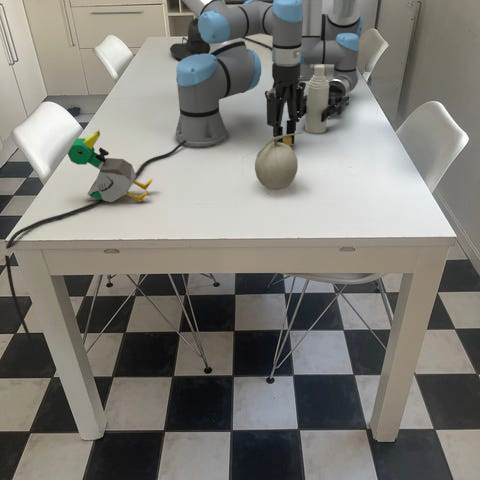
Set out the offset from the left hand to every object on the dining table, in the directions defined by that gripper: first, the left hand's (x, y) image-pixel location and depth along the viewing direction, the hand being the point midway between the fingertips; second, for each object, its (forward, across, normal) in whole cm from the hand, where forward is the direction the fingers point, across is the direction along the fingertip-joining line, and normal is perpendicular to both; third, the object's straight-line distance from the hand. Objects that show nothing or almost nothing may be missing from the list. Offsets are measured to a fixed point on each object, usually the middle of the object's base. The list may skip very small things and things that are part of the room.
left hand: (284, 144), depth 148 cm
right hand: (-5, +12, +1) cm, 13 cm away
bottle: (+1, +17, +3) cm, 17 cm away
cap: (-2, 0, 0) cm, 2 cm away
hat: (+1, +44, +96) cm, 106 cm away
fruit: (+1, -18, -15) cm, 23 cm away
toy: (+1, -51, +7) cm, 51 cm away
